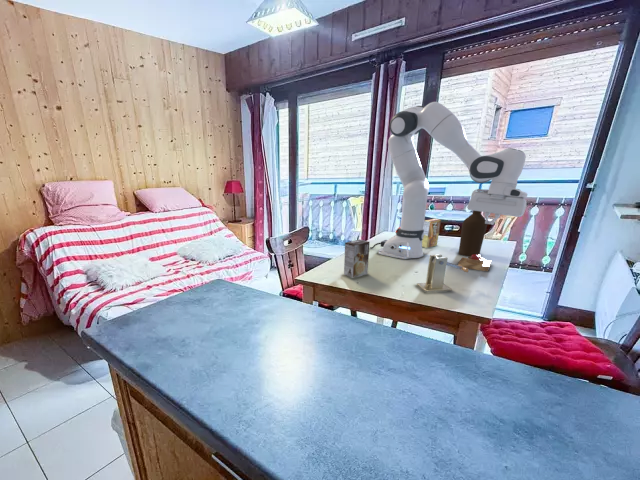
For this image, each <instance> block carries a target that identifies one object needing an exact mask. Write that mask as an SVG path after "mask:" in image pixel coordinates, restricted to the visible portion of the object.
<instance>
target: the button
mask: <svg viewBox="0 0 640 480" xmlns="http://www.w3.org/2000/svg"><path fill="white" fill-rule="evenodd" d="M481 257H482V255H481V254H479V255H477V254H473V255H472V256H471V259H476V260H479V259H480V258H481Z"/></svg>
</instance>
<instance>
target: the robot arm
mask: <svg viewBox="0 0 640 480" xmlns="http://www.w3.org/2000/svg"><path fill="white" fill-rule="evenodd" d="M422 130H425V132H427V133H428V134H429V136H430V137H431V138H432V139H433V140H434V141H436V142H437V143H438V144H440V145H441V146H443V147H444V148H446V149H448V150H450V151H451V152H452V153H454V154H455V155H456V156H457V157H458V159H459V160H461V162H462V163H463V164H464V165H465V166H466V167H467V169H468V173H469V177H470V178H471V180H472V181H473V182H475V183H478V184H484V183H488V182H490V181H491V182H490V185H489V187H488V189H483V188H477V189H475V190H472V192H471V196H470V200H469V201H468V203H467V206H466V208H467V210H469V211H473V210H474V211H481V213H484V218H485V220H486V221H485V224H487V225H491V226H492V225H493V226H494V225H495V222H496V221H497V220H498V219H499V218H500V217H501V215H502V216H503V215H504V216H509V217H516V218H521V217H523V216H524V214H525V212H526V208H527V200H526V198H527V197H528V193H527V192H526V191H524V190H521V189H520V188H517V185H518V179H519V177H520V176H521V174H522V173H523V169H524V166H525V162H526V157H527V155H526V153H525V152H524V151H523V150H521V149H517V148H509V147H507V148H505V149H503V150H501V151H499V152H496V153H491V154H487V155H481V154H480V153H479V152H478V151H477V150H476V149H475V148H474V147H473V146H472V144H471V143H470V142H469V140H468V139H467V136H466V132H465V129H464V127H463V124H462V122H461V121H460V120H459V118H458V117H457V116H456V115H455V114H454V113H453V112H452V111H451V110H450V109H449V108H447V106H445V105H443V104H442V103H440V102H438V101H431V102H429V103H428V104H426V105H425V106H424V105H416V106H412V107H408V108H406V109H404V110H402V111H399V112H397V113H396V114H395V115H393V117H391V119H390V121H389V131H390V133H391V135H390V137H389V138H388V140H387V144H388V150H389V154H390V158H391V160H392V163H393V166H394V169H395V172H396V174H397V176H398V178H399V180H400V182H401V185H402V188H403V191H402V202H401V218H400V226H398V228H397V229H395V235H393V236H392V237H390V238H388V239H384V240H382V241H380V242H377V243H375V244H374V245H372V247H371V246H369V250H372V249H374V248H375V247H376V246H378V245H380V247H381V248H380V249H379V250H378V252H377V253H378V255H381V256H386V257H391V258H397V259H402V260H408V259H418V258H422V257H424V252H423V247H422V240H423V237H424V229H423V228H424V221H425V220H426V211H427V201H428V195H429V191H430V184H429V182H428V179H427V177H426V173H425V171H424V169H423V167H422V164H421V161H420V158H419V155H418V152H417V149H416V147H415V143H414V140H413V139H414V136H415V135H418V134H419V133H420V132H421V131H422ZM491 214H494V218H493V219H490V217H489V216H491Z"/></svg>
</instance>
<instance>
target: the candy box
mask: <svg viewBox="0 0 640 480" xmlns="http://www.w3.org/2000/svg"><path fill="white" fill-rule="evenodd" d="M441 223H442V219H440V218H432V219H425V220H424V228H423V229H424V237H423V240H422V248H424V249H429V248H432V247H436V246H438V242H439V241H438V240H439V236H440V235H439V234H440V229H441Z"/></svg>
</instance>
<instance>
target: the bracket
mask: <svg viewBox="0 0 640 480" xmlns="http://www.w3.org/2000/svg"><path fill="white" fill-rule="evenodd" d="M435 256H436V257H439V258H435V261H434V263H433V262H432V261H433V259H434V257H435ZM447 262H448V257H446V256H444V257H443V254H439V253H438V254H430V255H429V260H428V265H427V273H426V278H425V279H426V280H425V282H417V283H416V285H417V286H419V287H420V288H421V289H422V290H423V291H425V293H426V292H448V291H452V288H451V287H449V286H448V285H447V284H445V283H444V281H445V277H446V270H447V266H448V265H447Z"/></svg>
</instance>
